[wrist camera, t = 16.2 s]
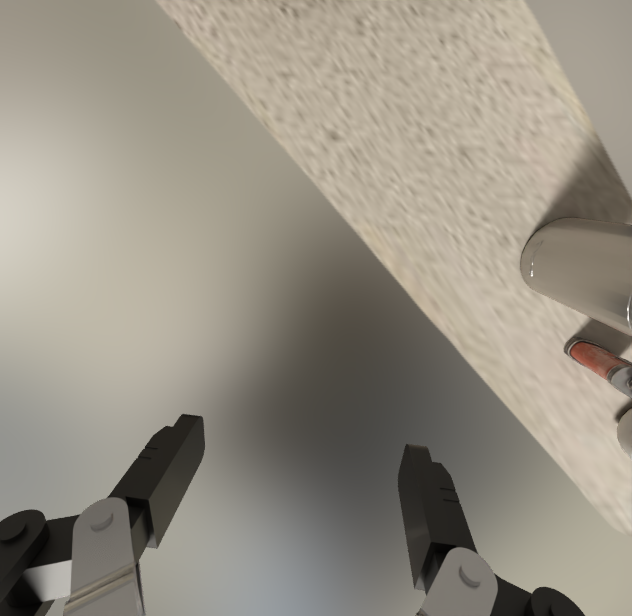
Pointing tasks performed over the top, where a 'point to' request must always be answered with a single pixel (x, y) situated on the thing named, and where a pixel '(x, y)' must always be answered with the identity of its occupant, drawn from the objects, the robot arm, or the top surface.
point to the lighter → (602, 363)
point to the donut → (625, 433)
